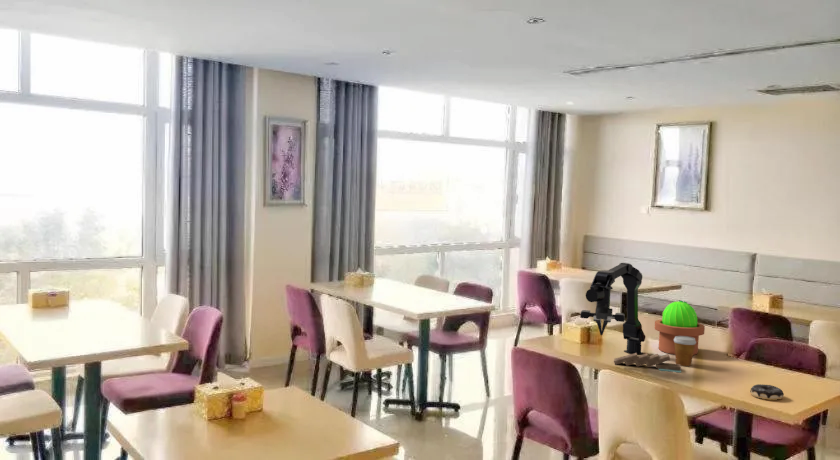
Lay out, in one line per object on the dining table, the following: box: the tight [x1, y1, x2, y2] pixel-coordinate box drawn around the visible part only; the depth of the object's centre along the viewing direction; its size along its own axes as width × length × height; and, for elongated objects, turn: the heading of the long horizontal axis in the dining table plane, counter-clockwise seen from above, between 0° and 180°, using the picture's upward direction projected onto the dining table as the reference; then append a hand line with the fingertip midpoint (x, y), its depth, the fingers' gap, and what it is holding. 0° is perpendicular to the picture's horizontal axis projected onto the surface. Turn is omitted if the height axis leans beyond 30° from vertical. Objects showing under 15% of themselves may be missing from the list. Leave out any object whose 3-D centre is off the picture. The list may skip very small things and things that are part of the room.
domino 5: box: [655, 362, 682, 372], centre depth 305 cm, size 2×5×10 cm
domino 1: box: [613, 353, 639, 366], centre depth 311 cm, size 2×5×10 cm
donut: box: [749, 384, 785, 401], centre depth 269 cm, size 11×12×4 cm
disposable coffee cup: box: [674, 336, 696, 367], centre depth 314 cm, size 10×10×12 cm
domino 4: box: [645, 353, 671, 368], centre depth 307 cm, size 2×5×10 cm
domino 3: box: [635, 353, 660, 368], centre depth 308 cm, size 2×5×10 cm
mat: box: [658, 368, 682, 373], centre depth 305 cm, size 9×8×1 cm
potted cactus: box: [654, 300, 705, 356], centre depth 339 cm, size 22×22×25 cm
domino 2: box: [624, 352, 649, 367], centre depth 309 cm, size 2×5×10 cm
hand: (601, 335), depth 311 cm, fingers closed
